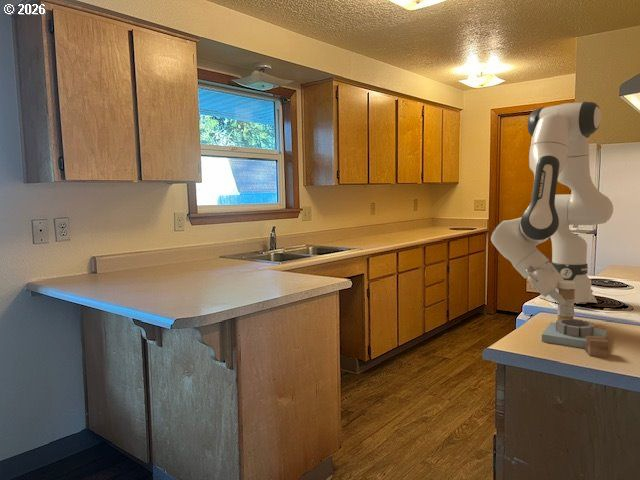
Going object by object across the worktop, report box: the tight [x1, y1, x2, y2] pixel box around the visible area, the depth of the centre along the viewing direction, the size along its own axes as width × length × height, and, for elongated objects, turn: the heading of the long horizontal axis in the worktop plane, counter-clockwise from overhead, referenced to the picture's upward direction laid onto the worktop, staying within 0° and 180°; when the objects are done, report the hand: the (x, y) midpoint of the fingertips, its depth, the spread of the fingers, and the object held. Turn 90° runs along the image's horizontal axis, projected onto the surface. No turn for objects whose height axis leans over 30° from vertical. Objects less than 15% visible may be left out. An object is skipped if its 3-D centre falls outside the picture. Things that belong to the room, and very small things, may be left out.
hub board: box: [541, 318, 608, 349], centre depth 127 cm, size 14×14×4 cm
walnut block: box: [584, 336, 610, 358], centre depth 115 cm, size 4×4×4 cm
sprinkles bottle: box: [557, 281, 576, 320], centre depth 139 cm, size 5×5×13 cm
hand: (567, 300), depth 139 cm, fingers open, 8 cm apart
